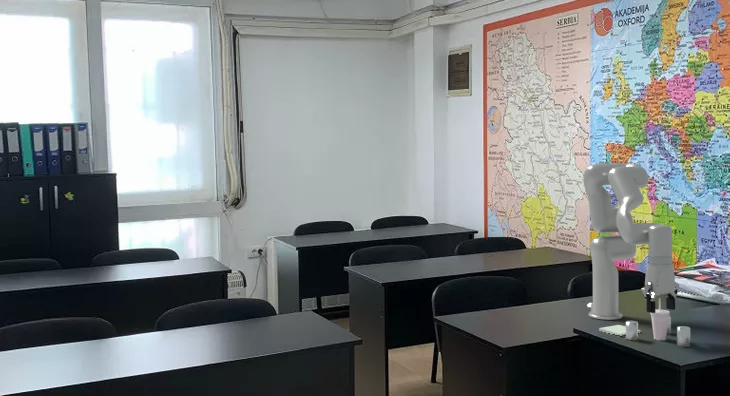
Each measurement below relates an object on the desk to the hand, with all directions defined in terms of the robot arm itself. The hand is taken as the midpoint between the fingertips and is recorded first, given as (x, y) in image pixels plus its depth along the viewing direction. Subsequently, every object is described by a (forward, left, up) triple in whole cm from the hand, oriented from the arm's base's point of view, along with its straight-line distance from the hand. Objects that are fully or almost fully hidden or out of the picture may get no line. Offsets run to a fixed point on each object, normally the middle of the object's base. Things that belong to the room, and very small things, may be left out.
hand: (660, 310), depth 243 cm
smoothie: (-1, 0, -10) cm, 10 cm away
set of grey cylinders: (+2, 0, -10) cm, 10 cm away
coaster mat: (-15, -4, -10) cm, 18 cm away
